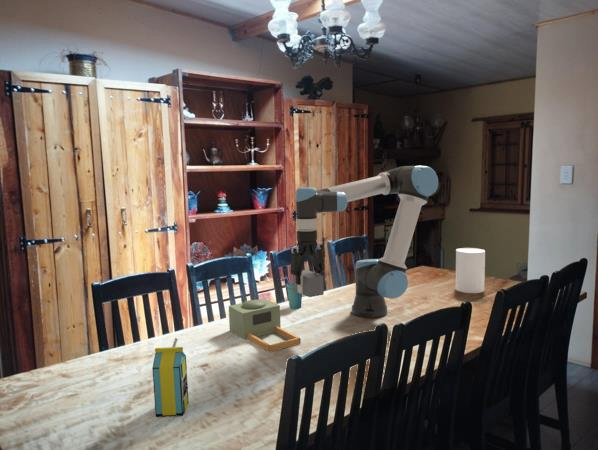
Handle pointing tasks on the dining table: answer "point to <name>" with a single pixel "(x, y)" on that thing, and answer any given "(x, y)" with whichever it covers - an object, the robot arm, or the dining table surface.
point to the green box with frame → (259, 323)
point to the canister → (470, 270)
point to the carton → (170, 381)
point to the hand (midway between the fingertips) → (308, 291)
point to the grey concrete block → (310, 283)
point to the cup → (293, 296)
